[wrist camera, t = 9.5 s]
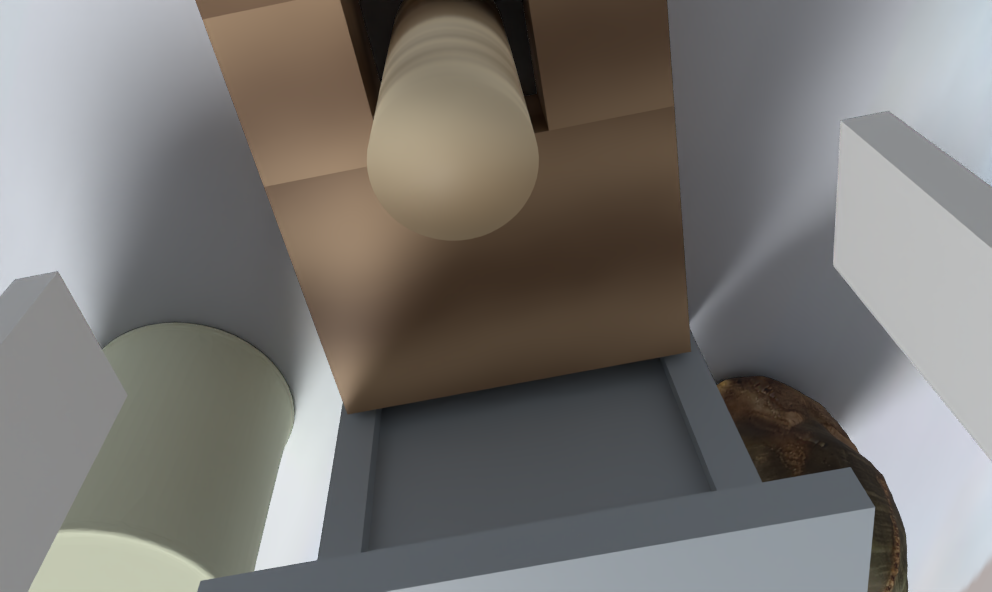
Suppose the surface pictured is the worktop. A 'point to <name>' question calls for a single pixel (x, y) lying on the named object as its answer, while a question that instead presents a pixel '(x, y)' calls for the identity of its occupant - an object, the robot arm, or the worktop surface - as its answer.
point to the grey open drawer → (574, 496)
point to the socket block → (492, 257)
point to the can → (176, 467)
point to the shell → (815, 460)
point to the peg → (451, 123)
